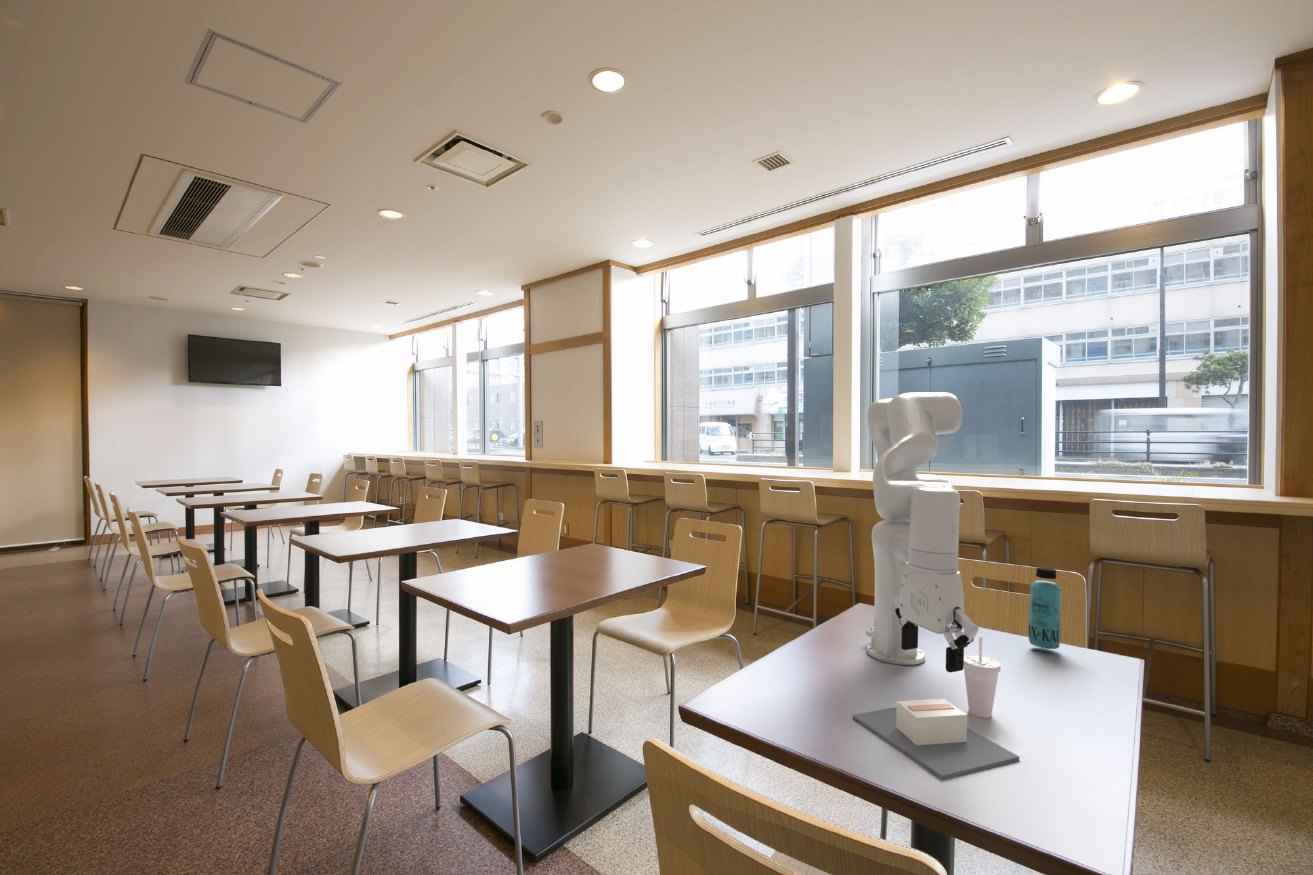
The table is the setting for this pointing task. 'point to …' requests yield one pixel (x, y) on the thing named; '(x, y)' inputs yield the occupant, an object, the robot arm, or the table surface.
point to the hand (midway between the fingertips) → (931, 659)
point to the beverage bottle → (1045, 611)
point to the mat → (939, 747)
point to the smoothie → (981, 682)
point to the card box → (931, 721)
